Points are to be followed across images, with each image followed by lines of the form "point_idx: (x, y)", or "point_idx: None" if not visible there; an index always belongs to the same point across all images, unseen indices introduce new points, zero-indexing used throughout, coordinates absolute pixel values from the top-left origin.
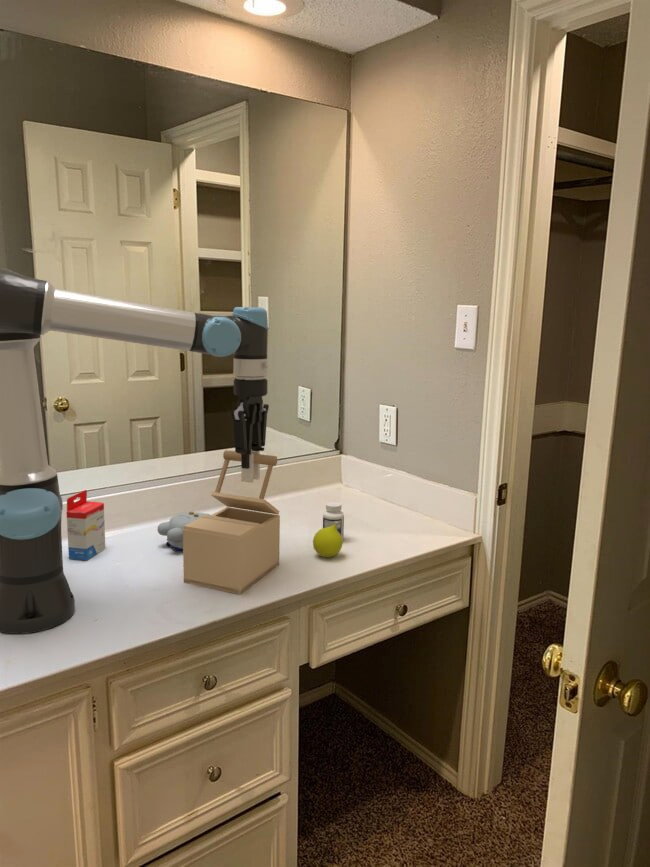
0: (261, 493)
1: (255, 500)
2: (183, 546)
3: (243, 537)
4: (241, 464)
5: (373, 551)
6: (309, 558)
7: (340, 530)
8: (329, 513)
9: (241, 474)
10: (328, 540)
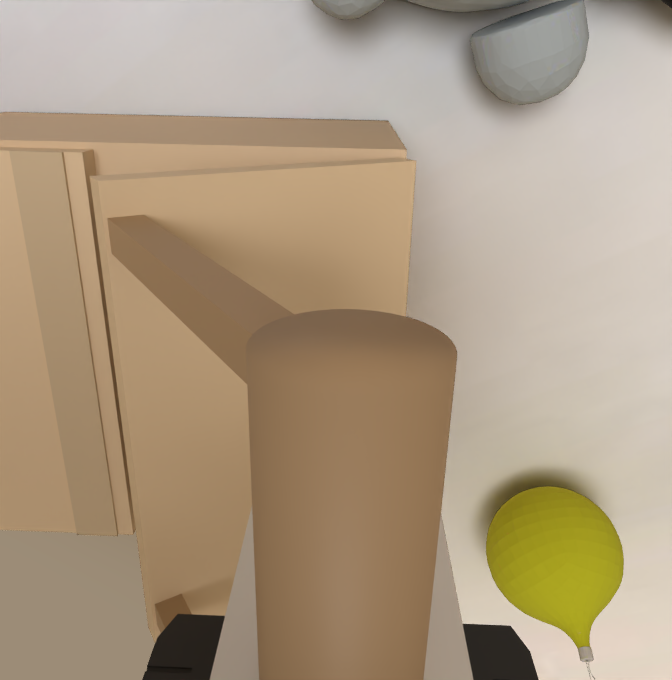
0: None
1: (142, 578)
2: None
3: None
4: (151, 658)
5: (639, 628)
6: (488, 463)
7: None
8: None
9: (250, 516)
10: (503, 591)
